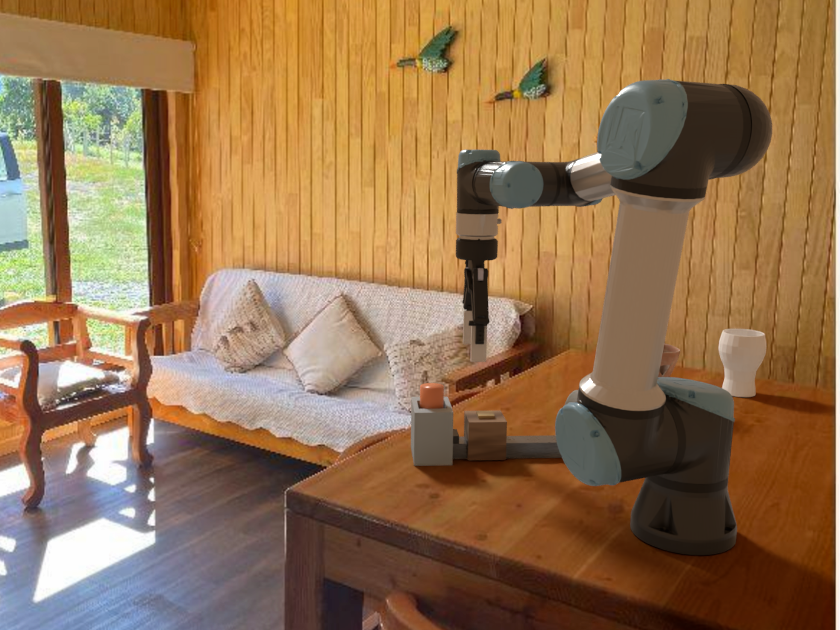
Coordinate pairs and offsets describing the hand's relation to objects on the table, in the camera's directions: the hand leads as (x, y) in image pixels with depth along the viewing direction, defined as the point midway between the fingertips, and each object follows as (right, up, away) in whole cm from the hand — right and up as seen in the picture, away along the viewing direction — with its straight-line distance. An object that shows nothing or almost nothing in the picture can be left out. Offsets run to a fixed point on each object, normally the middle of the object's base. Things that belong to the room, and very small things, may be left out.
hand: (473, 352), depth 151 cm
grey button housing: (-8, -19, +3) cm, 21 cm away
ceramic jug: (+42, -14, +36) cm, 57 cm away
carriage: (+2, -19, +4) cm, 20 cm away
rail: (+8, -19, +4) cm, 21 cm away
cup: (+67, -12, +48) cm, 83 cm away
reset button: (-8, -12, +1) cm, 15 cm away
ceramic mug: (+26, -17, +21) cm, 37 cm away
